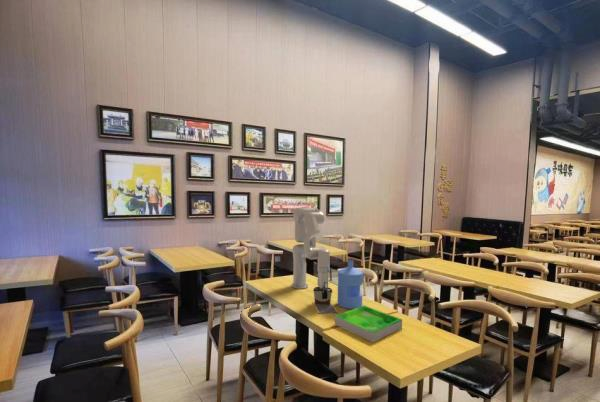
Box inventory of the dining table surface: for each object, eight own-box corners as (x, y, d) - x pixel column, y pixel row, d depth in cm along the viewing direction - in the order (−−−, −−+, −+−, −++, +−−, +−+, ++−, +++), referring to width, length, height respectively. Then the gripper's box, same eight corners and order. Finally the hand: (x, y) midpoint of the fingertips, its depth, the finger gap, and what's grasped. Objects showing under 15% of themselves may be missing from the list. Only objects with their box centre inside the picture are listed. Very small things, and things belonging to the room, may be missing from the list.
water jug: (332, 303, 193) (333, 260, 192) (348, 298, 204) (349, 256, 203) (351, 311, 181) (352, 264, 181) (367, 305, 192) (368, 261, 191)
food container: (332, 302, 195) (332, 286, 195) (332, 305, 189) (332, 289, 189) (312, 301, 196) (313, 285, 196) (312, 304, 190) (312, 288, 190)
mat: (312, 302, 195) (312, 301, 195) (330, 301, 197) (330, 301, 197) (318, 313, 177) (318, 312, 177) (338, 312, 179) (338, 311, 179)
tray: (334, 325, 163) (334, 316, 163) (363, 313, 180) (364, 305, 179) (373, 343, 144) (373, 332, 144) (402, 328, 160) (402, 319, 160)
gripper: (314, 265, 199) (314, 291, 200) (320, 272, 182) (320, 301, 183) (326, 265, 200) (325, 291, 201) (332, 272, 183) (332, 300, 184)
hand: (322, 296), depth 192 cm, fingers open, 9 cm apart
